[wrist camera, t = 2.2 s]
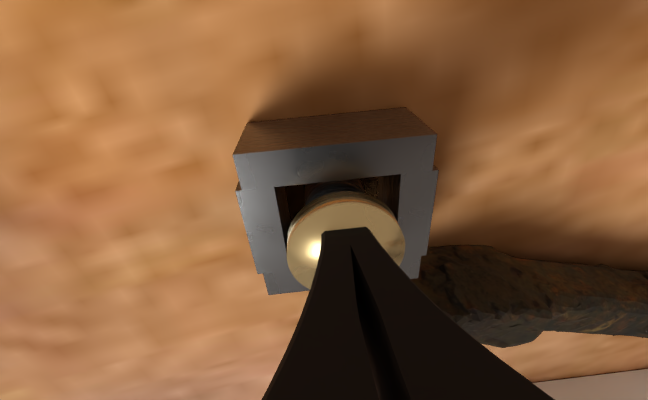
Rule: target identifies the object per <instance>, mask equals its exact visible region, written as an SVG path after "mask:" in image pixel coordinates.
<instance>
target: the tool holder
mask: <svg viewBox="0 0 648 400" xmlns="http://www.w3.org/2000/svg"><path fill="white" fill-rule="evenodd" d="M436 139H437V134H436V133H435V132H434V131H433V130H432V129H430V128H429V127H428V126H427V125H426V124H425V123H423V122H422V121H421V120H420V119H419V118H418V117H416V116H415V115H414V114H413V113H412V112H411V111H409V110H408V109H407V108H406V107H403V108H393V109H383V110H372V111H362V112H352V113H342V114H331V115H321V116H311V117H301V118H290V119H280V120H270V121H260V122H250V123H247V124H246V126H245V129H244V131H243V133H242V135H241V137H240V140H239V142H238V144H237V146H236V148H235V151H234V153H233V158H234V162H235V166H236V170H237V174H238V178H239V182H238V185H237V188H236V191H235V192H236V196H237V199H238V203H239V207H240V210H241V214H242V218H243V221H244V225H245V229H246V233H247V236H248V240H249V244H250V247H251V251H252V255H253V258H254V262H255V266H256V270H257V273H258V274H262V273H263V275H264V279H265V283H266V287H267V291H268V295H273V294H282V293H291V292H300V291H309V290H310V289H308V288H306V287H305V286H303V285H302V284H301V283H299V282H298V281H297V280H296V279H295V277H294V276H293V275H292V273H291V271H290V269H289V266H288V263H287V238H288V231H289V227H290V224H291V220H290V214H289V208H288V202H287V196H286V190H285V186H290V185H300V184H310V183H319V182H329V181H339V180H348V179H358V178H368V177H377V176H378V196H377V198H378V199H379V200H381V201H382V202H384V203H385V204H386V205H387V206H388V207H389V208H390V210H391V211H392V213H393V214H394V216H395V218H396V220H397V222H398V224H399V226H400V228H401V230H402V233H403V236H404V239H405V253H404V257H403V260H402V262H401V264H400V266H399V267H400V268H401V269H402V270H403V271H404V272H405V273H406V275H407V276H408V277H409V278H410V279H415V278H418V276H419V269H420V261H421V256H424V255H426V254H427V247H428V241H429V234H430V227H431V220H432V213H433V206H434V199H435V192H436V185H437V178H438V171H439V170H438V169H437V168H436V167H435V166H434V165H433V162H434V154H435V147H436Z"/></svg>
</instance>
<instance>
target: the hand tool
mask: <svg viewBox="0 0 648 400" xmlns="http://www.w3.org/2000/svg"><path fill="white" fill-rule="evenodd" d="M411 280H412V281H413V282H414V283H415V284H416V285H417V286H418V287H419V288H420V289H421V290H422V291H423V292H424V293H425V294H426V295H427V296H428V297H429V298H430V299H431V300H432V301H433V302H434V303H435V304H436V305H437V306H438V307H439V308H440V309H441V310H442V311H443V312H444V313H446V314H447V315H448V316H449V317H450V318H451V319H452V320H453V321H454V322H456V323H457V324H458V325H459V326H460V327H461V328H463V329H464V330H465V331H466V332H467V333H468V334H470V335H471V336H472V337H473V338H474V339H476V340H477V341H478V342H479V343H481V344H485V345H491V346H496V347H501V348H505V347H511V346H517V345H521V344H525V343H528V342H531V341H534V340H535V339H536V338H537V337H538V336H539V335H540V334H541V333H542V331H557V332H576V333H589V334H606V335H613V336H614V335H624V336H625V335H626V336H636V337H642V338H643V337H645V338H648V271H628V270H620V269H613V268H611V267H609V266H606V265H602V264H600V265H598V266H587V265H582V264H576V263H575V264H566V263H557V262H548V261H540V260H530V259H518V258H515V257H512V256H510V255H507V254H504V253H501V252H499V251H497V250H496V249H494V248H493V247H492V246H480V245H455V246H443V247H432V248H427V254H426V255H424V256H421V261H420V269H419V276H418V278H415V279H411Z"/></svg>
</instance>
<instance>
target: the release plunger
mask: <svg viewBox="0 0 648 400" xmlns="http://www.w3.org/2000/svg"><path fill="white" fill-rule="evenodd" d="M304 200H305V206H304V207H303V208H302V209H301V210H300V211H299V212H298V213H297V214H296V216H295V217H294V219H293V220H292V222H291V224H290V227H289V231H288V238H287V263H288V266H289V269H290V271H291V273H292V275H293V276H294V277H295V279H296V280H297V281H298V282H299V283H301V284H302V285H303V286H305V287H306V288H308V289H311V285H312V282H313V278H314V275H315V271H316V267H317V263H318V259H319V254H320V248H321V234H322V233H323V232H324V231H330V230H339V229H349V228H357V227H367V228H368V229H370V231H371V232H372V234H373V235H374V236H375V238H376V239H377V240H378V242H379V243H380V244H381V246H382V247H383V248H384V249H385V251H386V252H387V253H388V254H389V255H390V257H391V258H392V259H393V260H394V261H395V262H396V264H397V265H398V266H400V264H401V262H402V260H403V257H404V253H405V239H404V236H403V233H402V230H401V228H400V226H399V224H398V222H397V220H396V218H395V216H394V214H393V213H392V211H391V210H390V208H389V207H388V206H387V205H386V204H385V203H384V202H382V201H381V200H379V199H378V198H376V197H374V196H372V195H369V194H366V193H365V191H364V188H363V186H362V183H361V181H360V179H359V178H358V179H348V180H339V181H329V182H319V183H310V184H306V185H305V189H304Z"/></svg>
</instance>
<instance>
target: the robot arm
mask: <svg viewBox="0 0 648 400" xmlns="http://www.w3.org/2000/svg"><path fill="white" fill-rule="evenodd" d="M262 400H555V399H553V398H552V397H551V396H549V395H548V394H547V393H545V392H544V391H543V390H541V389H540V388H538V387H537V386H536V385H534V384H533V383H532V382H530V381H529V380H528V379H526V378H525V377H524V376H522V375H521V374H519V373H518V372H517V371H515V370H514V369H513V368H511V367H510V366H509V365H507V364H506V363H505V362H503V361H502V360H501V359H499V358H498V357H497V356H495V355H494V354H493V353H492V352H490V351H489V350H488V349H487V348H485V347H484V346H483V345H482V344H481V343H479V342H478V341H477V340H476V339H474V338H473V337H472V336H471V335H470V334H468V333H467V332H466V331H465V330H464V329H463V328H461V327H460V326H459V325H458V324H457V323H456V322H454V321H453V320H452V319H451V318H450V317H449V316H448V315H447V314H446V313H444V312H443V311H442V310H441V309H440V308H439V307H438V306H437V305H436V304H435V303H434V302H433V301H432V300H431V299H430V298H429V297H428V296H427V295H426V294H425V293H424V292H423V291H422V290H421V289H420V288H419V287H418V286H417V285H416V284H415V283H414V282H413V281H412V280H411V279H410V278H409V277H408V276H407V275H406V273H405V272H404V271H403V270H402V269H401V268H400V267H399V266H398V265H397V264H396V262H395V261H394V260H393V259H392V258H391V257H390V255H389V254H388V253H387V252H386V251H385V249H384V248H383V247H382V246H381V244H380V243H379V242H378V240H377V239H376V238H375V236H374V235H373V234H372V232H371V231H370V229H368V228H367V227H357V228H349V229H339V230H330V231H324V232H323V233H322V234H321V248H320V254H319V259H318V263H317V267H316V271H315V275H314V278H313V282H312V285H311V289H310V292H309V294H308V297H307V300H306V303H305V306H304V308H303V311H302V314H301V317H300V319H299V322H298V324H297V327H296V329H295V332H294V334H293V336H292V339H291V341H290V343H289V345H288V347H287V350H286V352H285V354H284V356H283V358H282V360H281V362H280V364H279V366H278V369H277V371H276V373H275V375H274V377H273V379H272V381H271V383H270V385H269V387H268V389H267V390H266V392H265V394H264V396H263V398H262Z"/></svg>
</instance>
